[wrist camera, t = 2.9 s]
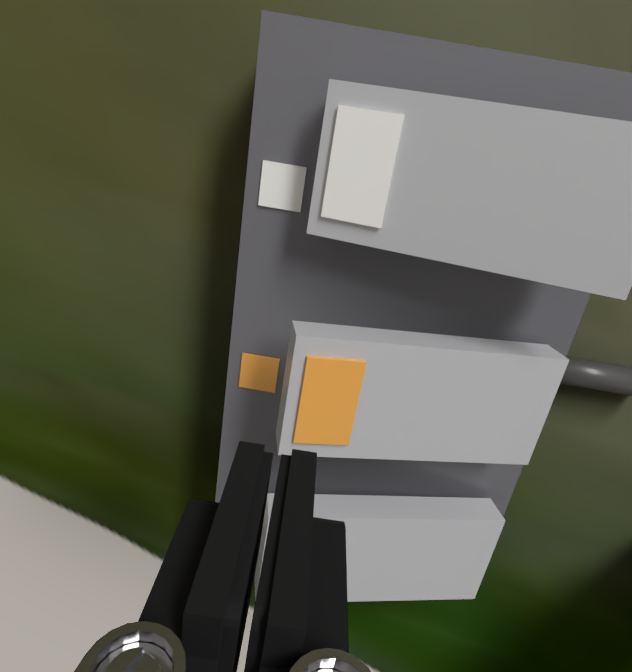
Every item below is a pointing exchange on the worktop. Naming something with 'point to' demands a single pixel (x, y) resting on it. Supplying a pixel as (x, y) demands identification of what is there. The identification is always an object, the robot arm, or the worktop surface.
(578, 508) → the worktop surface
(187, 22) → the worktop surface
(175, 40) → the worktop surface
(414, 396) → the block
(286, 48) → the rocker switch panel
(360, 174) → the block
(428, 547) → the block
